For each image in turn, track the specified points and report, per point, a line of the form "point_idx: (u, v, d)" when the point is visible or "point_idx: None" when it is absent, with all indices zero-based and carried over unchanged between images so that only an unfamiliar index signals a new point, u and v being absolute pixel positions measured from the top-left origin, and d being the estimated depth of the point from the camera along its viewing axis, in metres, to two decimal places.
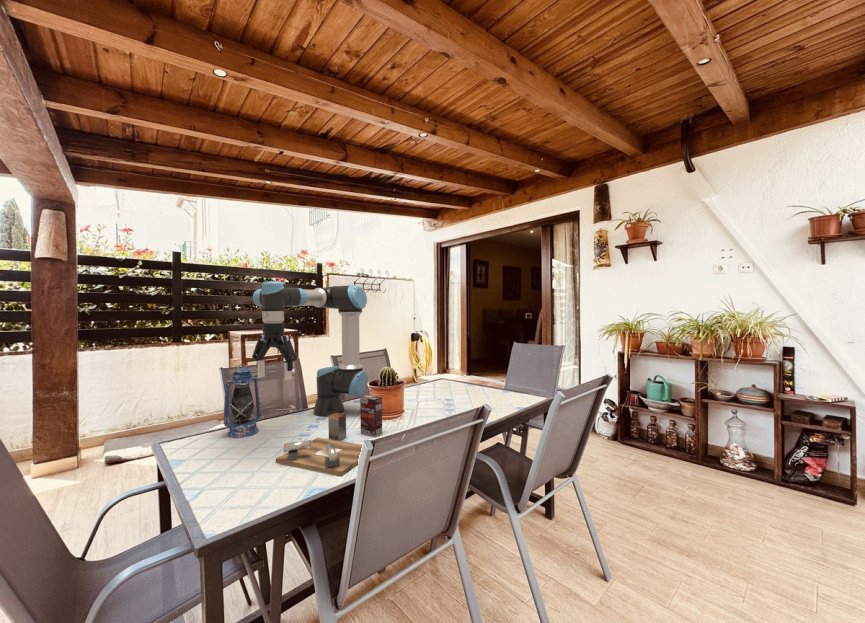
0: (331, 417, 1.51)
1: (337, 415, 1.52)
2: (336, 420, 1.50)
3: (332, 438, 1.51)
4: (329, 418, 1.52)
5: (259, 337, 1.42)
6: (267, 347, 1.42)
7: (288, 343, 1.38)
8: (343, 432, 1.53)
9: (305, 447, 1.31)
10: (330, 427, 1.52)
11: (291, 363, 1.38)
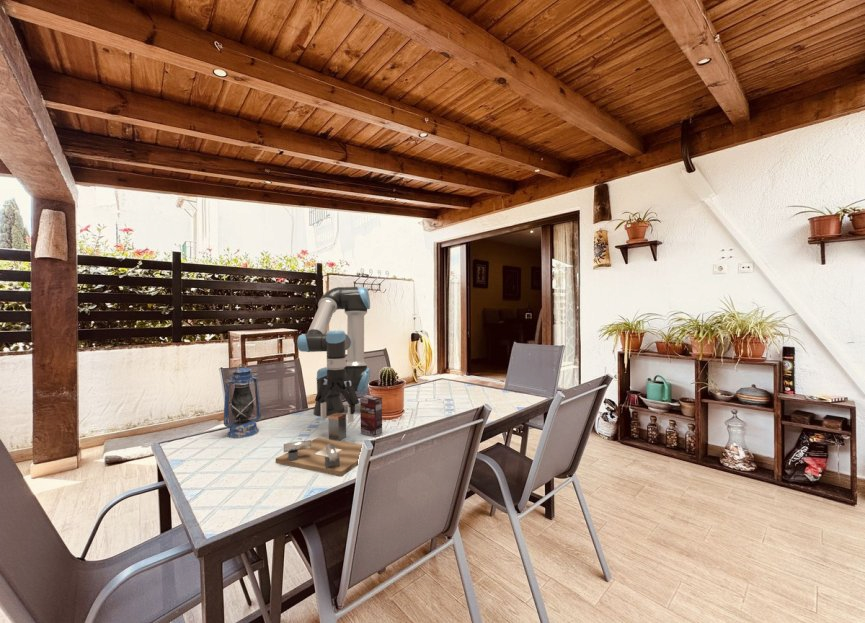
0: (331, 417, 1.51)
1: (337, 415, 1.52)
2: (336, 420, 1.50)
3: (332, 438, 1.51)
4: (329, 418, 1.52)
5: (322, 381, 1.54)
6: (330, 391, 1.54)
7: (351, 388, 1.50)
8: (343, 432, 1.53)
9: (305, 447, 1.31)
10: (330, 427, 1.52)
11: (354, 406, 1.50)
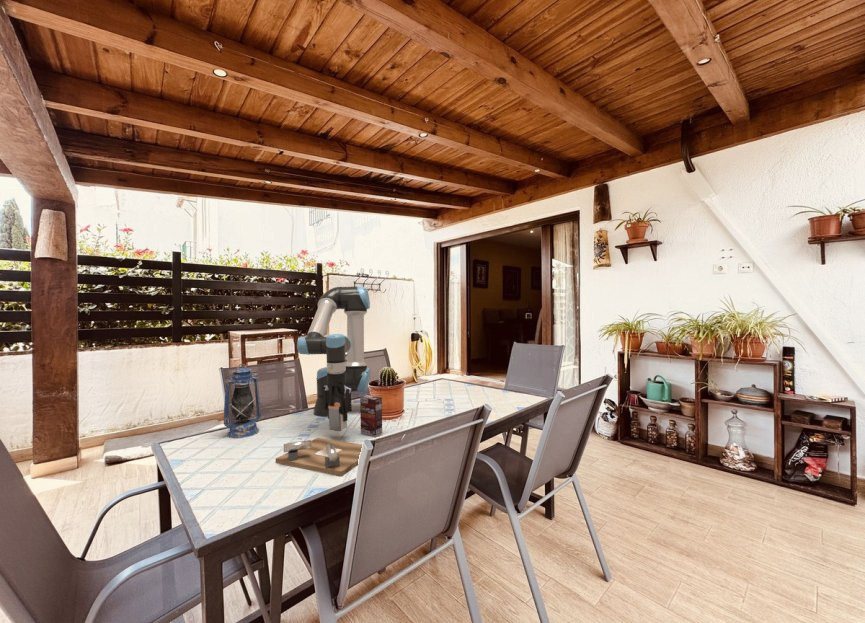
0: (331, 407, 1.52)
1: (337, 405, 1.53)
2: (337, 410, 1.51)
3: (333, 428, 1.52)
4: (329, 408, 1.52)
5: (323, 388, 1.54)
6: (333, 396, 1.54)
7: (349, 396, 1.51)
8: None
9: (305, 447, 1.31)
10: (330, 417, 1.52)
11: (346, 414, 1.52)
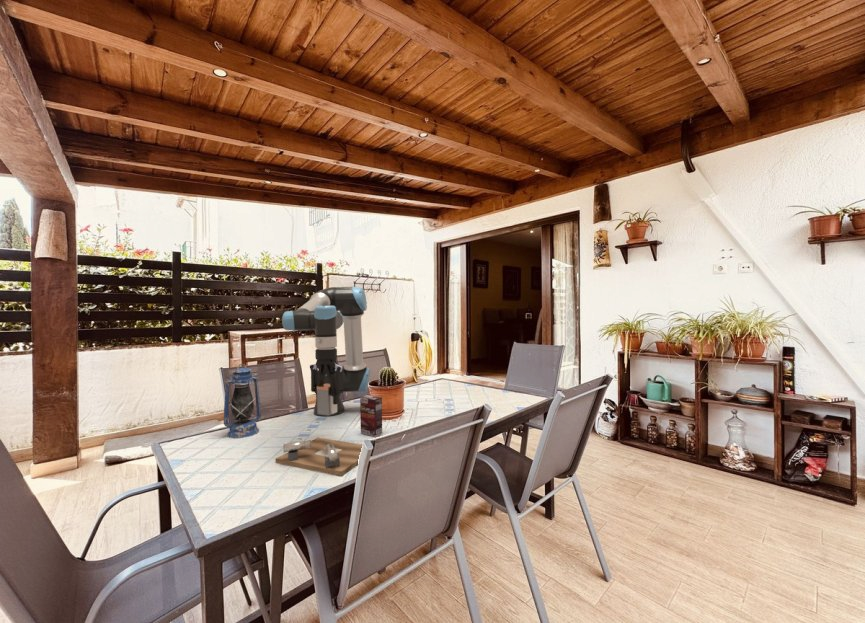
0: (320, 388, 1.33)
1: (327, 385, 1.34)
2: (326, 391, 1.32)
3: (322, 412, 1.33)
4: (318, 389, 1.34)
5: (311, 367, 1.36)
6: (322, 375, 1.35)
7: (340, 375, 1.32)
8: None
9: (305, 447, 1.31)
10: (319, 399, 1.33)
11: (337, 396, 1.33)
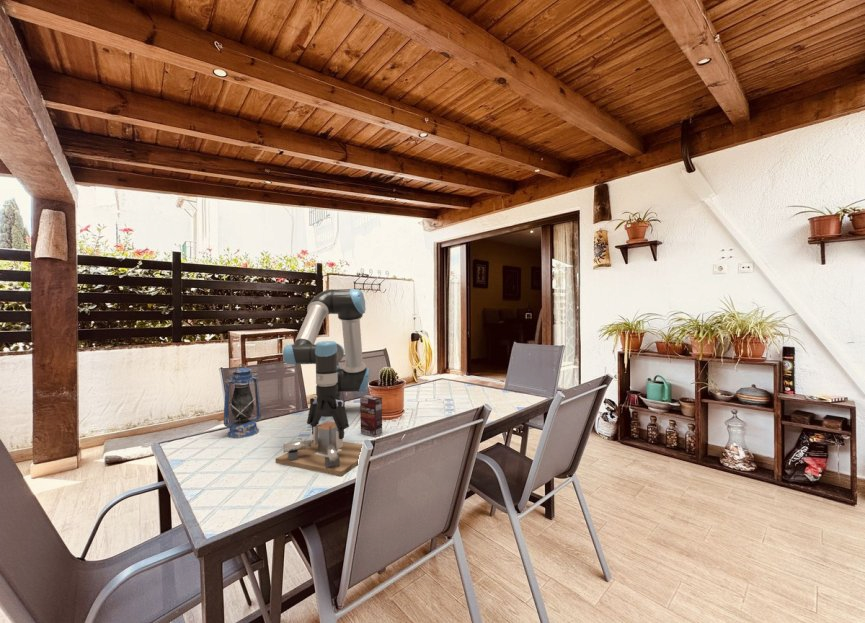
0: (321, 427, 1.34)
1: (328, 425, 1.35)
2: (327, 430, 1.33)
3: (322, 451, 1.34)
4: (319, 428, 1.34)
5: (311, 400, 1.36)
6: (321, 410, 1.36)
7: (342, 409, 1.32)
8: (335, 444, 1.35)
9: (305, 447, 1.31)
10: (320, 438, 1.34)
11: (343, 430, 1.33)
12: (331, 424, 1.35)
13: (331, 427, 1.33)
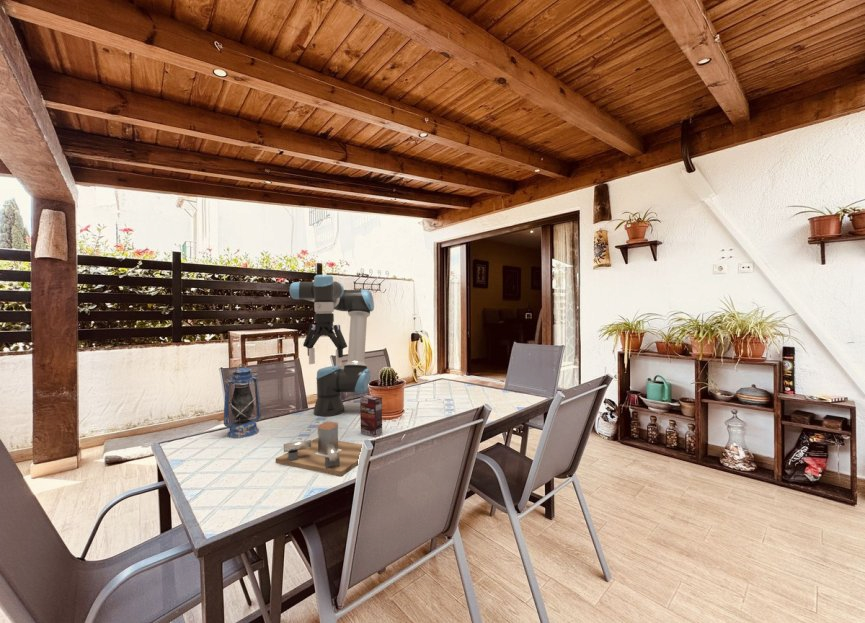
0: (321, 427, 1.34)
1: (328, 425, 1.35)
2: (327, 430, 1.33)
3: (322, 451, 1.34)
4: (319, 428, 1.34)
5: (310, 326, 1.53)
6: (318, 336, 1.53)
7: (339, 332, 1.49)
8: (335, 444, 1.35)
9: (305, 447, 1.31)
10: (320, 438, 1.34)
11: (341, 350, 1.49)
12: (331, 424, 1.35)
13: (331, 427, 1.33)
